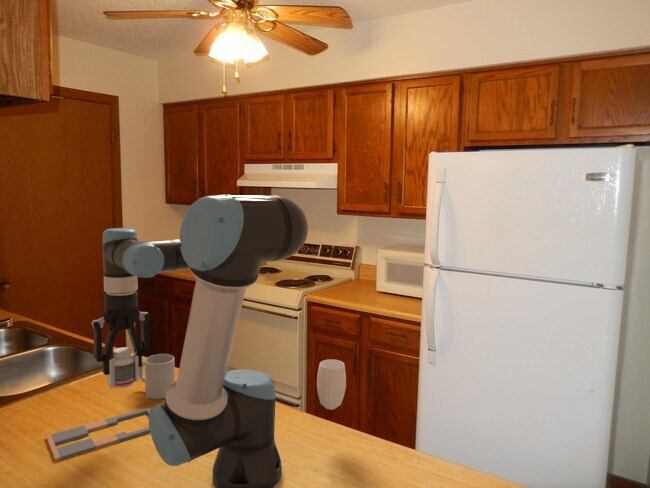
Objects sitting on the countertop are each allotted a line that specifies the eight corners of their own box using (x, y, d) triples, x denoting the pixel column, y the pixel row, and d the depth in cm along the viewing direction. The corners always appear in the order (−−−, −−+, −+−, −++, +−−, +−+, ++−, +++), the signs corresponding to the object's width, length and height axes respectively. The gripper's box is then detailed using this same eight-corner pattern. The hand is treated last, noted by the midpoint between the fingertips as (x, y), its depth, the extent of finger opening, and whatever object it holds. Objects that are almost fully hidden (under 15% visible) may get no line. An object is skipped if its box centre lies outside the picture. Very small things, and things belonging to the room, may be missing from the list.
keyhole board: (164, 428, 121) (164, 425, 121) (55, 461, 105) (55, 458, 105) (148, 410, 130) (148, 407, 130) (46, 438, 114) (46, 435, 114)
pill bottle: (139, 382, 116) (138, 349, 115) (120, 390, 112) (120, 355, 111) (125, 378, 119) (124, 344, 118) (106, 385, 114) (106, 350, 113)
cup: (349, 444, 116) (352, 365, 114) (328, 454, 112) (331, 372, 109) (330, 432, 122) (333, 356, 119) (309, 441, 117) (311, 362, 114)
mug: (180, 390, 143) (180, 356, 142) (162, 401, 135) (162, 366, 134) (149, 383, 147) (148, 350, 146) (129, 394, 139) (128, 359, 138)
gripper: (152, 284, 121) (153, 369, 124) (75, 293, 109) (78, 387, 112) (164, 290, 116) (164, 378, 119) (84, 300, 104) (87, 398, 107)
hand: (123, 382), depth 115 cm, fingers closed on pill bottle, 5 cm apart
